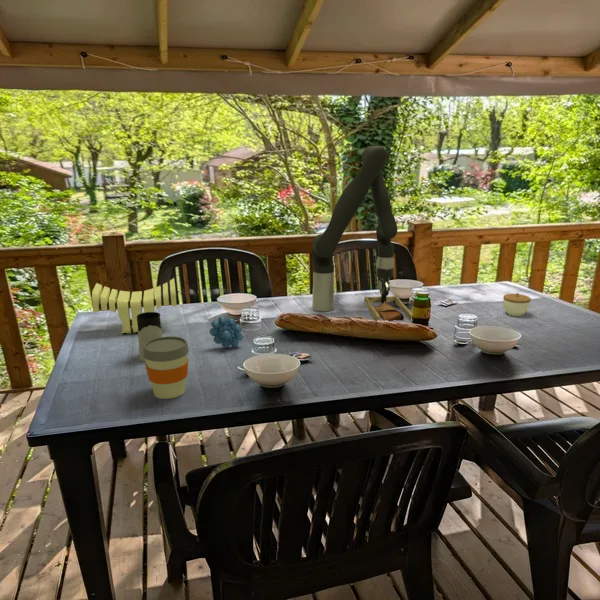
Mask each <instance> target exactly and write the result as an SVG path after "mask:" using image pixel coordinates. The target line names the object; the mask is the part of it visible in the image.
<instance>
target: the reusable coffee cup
mask: <svg viewBox="0 0 600 600" xmlns="http://www.w3.org/2000/svg"><path fill="white" fill-rule="evenodd" d="M189 352H190V351H189V346H188V341H187V340H186V339H185V338H183V337H180V336H170V335H169V336H162V337H160V338H155V339H152V340H150V341H148V342H146V343H145V344H144V349H143V356H144V358H145V359H146V362H145V364H144V365H145V369H146V373H147V378H148V380H149V382H150V383H151V388H152V392H153V395H154V396H155V397H156V398H157V399H163V400H165V399H166V400H167V399H175V398H178V397H180V396H182V395H183V394H184V393H185V392H186V382H187V381H186V379H187V377H188V373H189V371H188V370H189V358H188V354H189Z"/></svg>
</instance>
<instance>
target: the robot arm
mask: <svg viewBox="0 0 600 600" xmlns="http://www.w3.org/2000/svg"><path fill="white" fill-rule="evenodd" d="M388 157H389V156H388V152H387V150H386V149H385V148H384V147H383V146H380V145H369V146H367V147H366V148H364V150H363V151H362V153H361V162H362V166H361V168H360V169H359V171H358V173H357V174H356V176H355V177H353V179H352V180H351V181H350V182H349V183H348V185H347V186H346V187H345V188H344V190H342V192H341V194H340V196H339V198H338V200H337V201H336V203H335V205H334V208H333V211H332V215H331V218H330V220H329V223H328V225H327V227H326V228H325V229H324V231H323V232H322V233H320V234H318V235H316V236H315V237H314V238H313V241H312V245H311V247H312V250H311V253H312V254H311V255H312V258H311V260H312V270H313V271H312V272H313V273H312V310H313V311H315V312H330V311H332V310H334V306H335V303H334V302H335V301H334V298H335V297H334V295H335V294H334V293H335V288H334V287H335V265H334V253H335V252H336V250H337V248H338V246H339V243H340V240H341V239H342V236H343V234H344V232H345V231H346V229H347V228H348V226H349V225H350V223H351V221H352V219H353V218H354V217H355V215H356V214H357V212H358V210H359V209H360V207H361V205H362V203H363V201H364V199H365V197H366V196H367V193H368V192H369V190H371V195H372V200H373V207H374V213H375V216H376V217H377V218H378V219H379V222H378V224H377V227H376V230H375V234H376V235H375V236H376V243H377V260H376V272H375V274H376V277H377V278H379V280H378V287H379V289H378V290H379V293H380V297H381V302H380V304H382V303H384V301H385V302H386V296H389V294H390V290H391V286H390V284H391V283H390V281H389V279H392V278H393V277H394V267H395V266H394V264H395V259H394V255H395V247H394V244H393V243H392V239H394V238H395V237H397V234H398V224H397V221H396V218H395V216H394V213H393V210H392V203H391V199H390V194H389V191H388V188H387V185H386V182H385V181H384V177H383V171H382V169H384V167H385V165H386V164H387V161H388ZM386 303H387V302H386Z"/></svg>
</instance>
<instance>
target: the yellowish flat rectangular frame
mask: <svg viewBox="0 0 600 600" xmlns="http://www.w3.org/2000/svg"><path fill="white" fill-rule="evenodd" d="M363 300H364V304H365V306H366V307H367V309H368V310H369V312H370V314H371V315H372V317H373V318H374V320H375V321H376V320H380V321H381V317H380V316H379V314H378V313H377V311H376V310H375V307H374V305H373V303H381V296H364V299H363ZM393 301H395V302H396V303H395V302H393ZM386 303H395V304H396V305H397V307H398V306H399V307H400V308H399V307H398V308H399V309H400V310H401V312H404V313H405V314H404V313H403V314H404V315H405V316H406V318H407V317H408V318H409V319H408V320H409V321H410V322H411V318H412V314H413V313H412V311H411V310H409V308H408V307H407V306H406V305H405V304H404V303H403V301H402V300H401V299H400V297H398V296H397V295H393V296H391V295H390V296H389V295H388V296H386Z"/></svg>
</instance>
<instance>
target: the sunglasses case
mask: <svg viewBox="0 0 600 600" xmlns="http://www.w3.org/2000/svg"><path fill="white" fill-rule="evenodd" d="M374 308H375V310H376V311H377V313H378V314H379V316H380V319H382V320H383V321H384V320H388V321H389V322H394V321H393V320H401V321H402V320H403V321H404V320H405V316H404V313H402V311H399V310H397V309H396V308H395V307H394V306H392V305H391V304H389V303H388V302H385V301H384V303H380V304H378V305H377V306H375V307H374Z"/></svg>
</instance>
